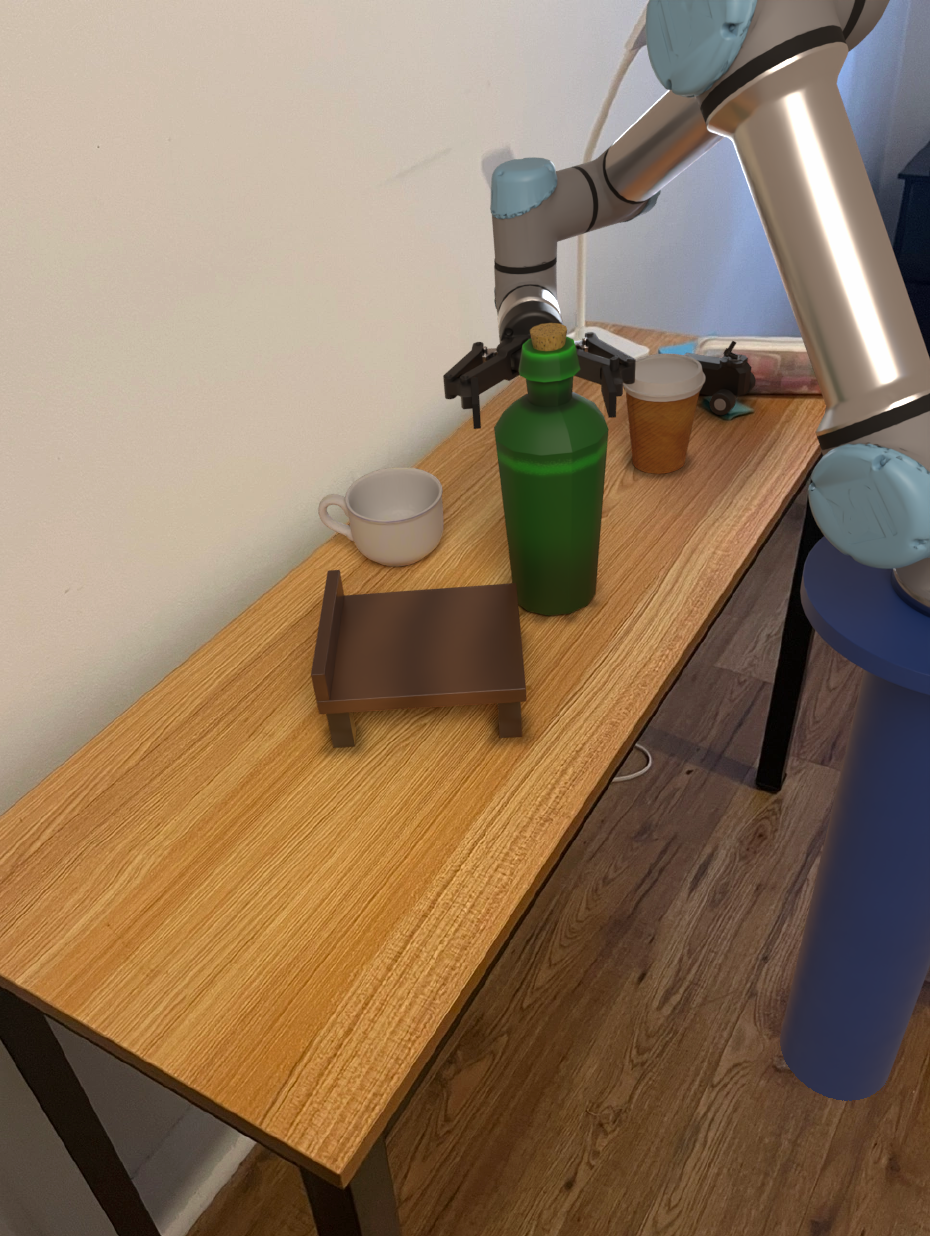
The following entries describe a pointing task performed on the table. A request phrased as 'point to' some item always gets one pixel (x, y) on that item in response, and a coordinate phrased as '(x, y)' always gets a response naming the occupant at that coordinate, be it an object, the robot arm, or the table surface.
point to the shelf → (418, 653)
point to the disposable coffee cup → (662, 410)
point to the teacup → (390, 515)
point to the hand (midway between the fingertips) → (544, 410)
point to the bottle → (552, 478)
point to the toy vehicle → (725, 378)
